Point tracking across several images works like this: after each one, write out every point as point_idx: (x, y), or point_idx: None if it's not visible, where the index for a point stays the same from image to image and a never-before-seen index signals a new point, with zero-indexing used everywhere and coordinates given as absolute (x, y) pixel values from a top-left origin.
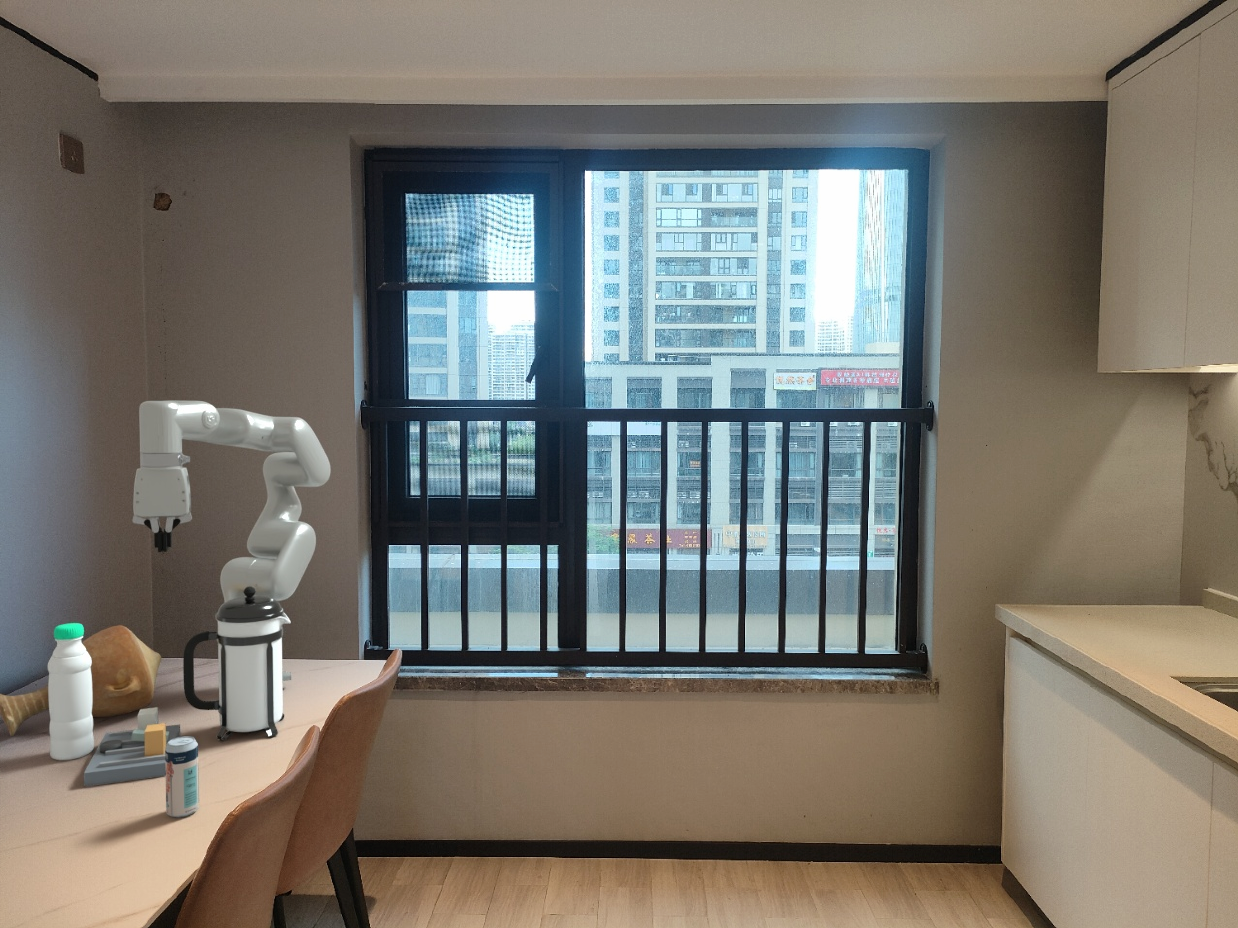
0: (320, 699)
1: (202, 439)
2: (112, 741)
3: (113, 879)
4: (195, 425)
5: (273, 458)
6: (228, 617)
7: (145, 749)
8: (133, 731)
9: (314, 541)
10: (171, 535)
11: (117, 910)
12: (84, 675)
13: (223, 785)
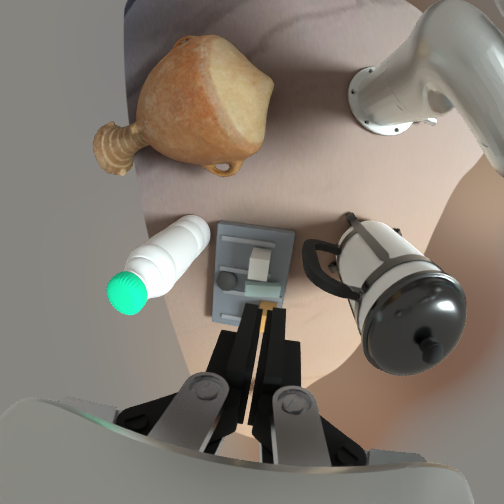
0: (444, 186)
1: None
2: (227, 276)
3: (246, 419)
4: None
5: None
6: (373, 362)
7: None
8: (245, 291)
9: None
10: (298, 383)
11: (249, 434)
12: (175, 281)
13: (314, 358)
